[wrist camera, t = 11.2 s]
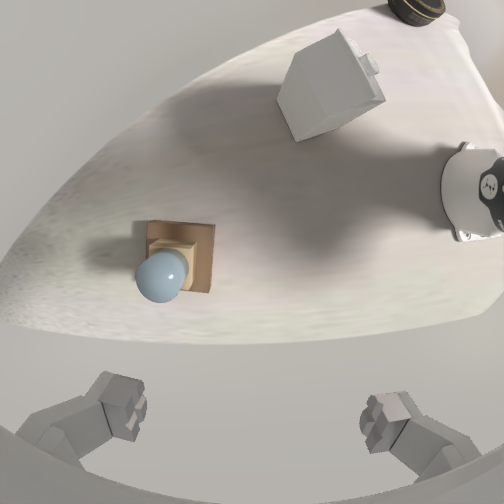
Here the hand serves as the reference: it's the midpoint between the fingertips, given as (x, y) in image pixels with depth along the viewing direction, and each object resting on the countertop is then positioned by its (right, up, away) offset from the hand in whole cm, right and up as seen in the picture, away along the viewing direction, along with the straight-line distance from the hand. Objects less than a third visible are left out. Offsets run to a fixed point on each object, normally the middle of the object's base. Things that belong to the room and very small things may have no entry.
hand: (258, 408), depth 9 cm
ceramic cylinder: (-10, +3, +24) cm, 26 cm away
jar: (+30, +52, +23) cm, 64 cm away
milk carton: (+8, +25, +28) cm, 38 cm away
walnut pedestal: (-10, +5, +31) cm, 33 cm away
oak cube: (-10, +5, +29) cm, 31 cm away
